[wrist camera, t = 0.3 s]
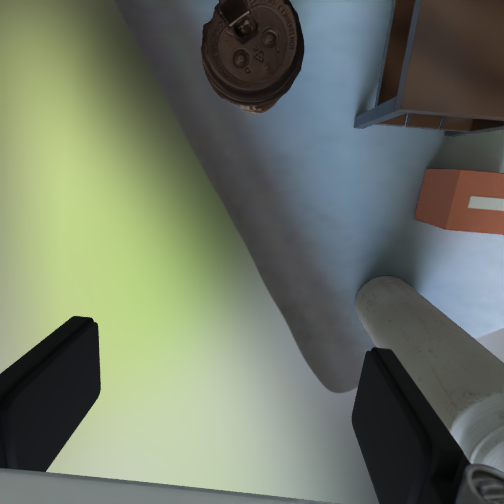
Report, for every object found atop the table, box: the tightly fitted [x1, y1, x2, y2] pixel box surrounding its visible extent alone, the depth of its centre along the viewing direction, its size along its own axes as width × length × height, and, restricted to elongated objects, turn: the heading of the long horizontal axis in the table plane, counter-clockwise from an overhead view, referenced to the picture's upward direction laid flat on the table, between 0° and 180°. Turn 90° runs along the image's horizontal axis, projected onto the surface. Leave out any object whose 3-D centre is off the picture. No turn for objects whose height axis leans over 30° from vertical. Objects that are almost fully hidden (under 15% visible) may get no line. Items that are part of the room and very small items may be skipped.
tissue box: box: [414, 169, 504, 235], centre depth 35 cm, size 6×9×7 cm
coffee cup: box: [201, 0, 304, 113], centre depth 30 cm, size 9×8×13 cm
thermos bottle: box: [355, 276, 504, 472], centre depth 29 cm, size 8×8×28 cm
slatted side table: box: [354, 0, 504, 136], centre depth 28 cm, size 18×12×13 cm, turn 175°
